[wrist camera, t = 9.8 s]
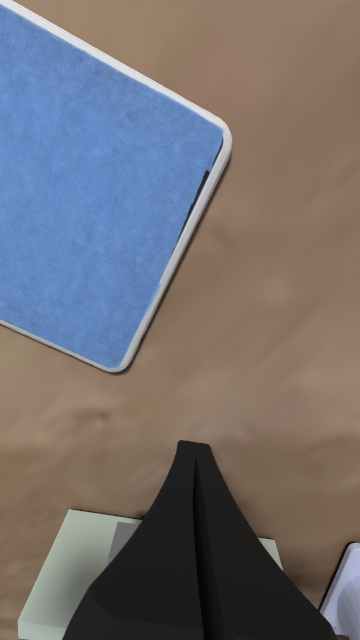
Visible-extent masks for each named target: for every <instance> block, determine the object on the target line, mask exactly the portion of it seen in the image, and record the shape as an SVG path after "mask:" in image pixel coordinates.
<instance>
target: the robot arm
mask: <svg viewBox="0 0 360 640" xmlns="http://www.w3.org/2000/svg"><path fill="white" fill-rule="evenodd" d="M336 634H338V635H345V636H348V637H349V640H360V543H352V544H350V545H349V546H348V548H347V550H346V552H345V555H344V557H343V559H342V562H341V564H340V566H339V569H338V571H337V573H336V575H335V578H334V580H333V582H332V585H331V587H330V589H329V591H328V594H327V596H326V598H325V601H324V603H323V605H322V608H321V610H320V612H319V611H318V610H317V609H316V608H315V607H314V606H313V605H312V603H311V602H310V601H309V600H308V599H307V598H306V597H305V596H304V595H303V594H302V593H301V592H300V591H299V590H298V588H297V587H296V586H295V585H294V584H293V583H292V581H291V580H290V579H289V578H288V577H287V576H286V574H285V573H284V572H283V571H282V569H281V568H280V567H279V565H278V564H277V563H276V562H275V560H274V559H273V558H272V556H271V555H270V554H269V553H268V551H267V550H266V549H265V547H264V546H263V544H262V543H261V542H260V540H259V539H258V537H257V536H256V534H255V533H254V532H253V530H252V528H251V527H250V525H249V524H248V522H247V521H246V519H245V518H244V516H243V514H242V513H241V511H240V509H239V507H238V506H237V504H236V502H235V500H234V499H233V497H232V495H231V493H230V491H229V489H228V487H227V485H226V483H225V481H224V479H223V477H222V475H221V473H220V470H219V468H218V466H217V463H216V461H215V459H214V456H213V453H212V451H211V448H210V446H209V445H208V444H204V443H197V442H190V441H184V440H180V441H179V442H178V445H177V451H176V455H175V458H174V461H173V464H172V466H171V469H170V471H169V473H168V476H167V478H166V480H165V482H164V484H163V486H162V488H161V490H160V492H159V494H158V495H157V497H156V499H155V501H154V503H153V504H152V506H151V508H150V509H149V511H148V512H147V514H146V516H145V517H144V519H143V520H142V521H141V523H140V524H139V526H138V527H137V529H136V530H135V532H134V533H133V534H132V536H131V537H130V539H129V540H128V541H127V542H126V544H125V545H124V546H123V547H122V549H121V550H120V551H119V553H118V554H117V555H116V556H115V558H114V559H113V560H112V561H111V562H110V564H109V565H108V566H107V567H106V568H105V569H104V570H103V571H102V572H101V574H100V575H99V576H98V577H97V578H96V579H95V580H94V581H93V582H92V584H91V585H90V586H89V588H88V589H87V591H86V593H85V595H84V596H83V598H82V600H81V601H80V603H79V605H78V607H77V609H76V611H75V612H74V614H73V616H72V618H71V620H70V622H69V624H68V627H67V629H66V631H65V633H64V636H63V638H62V640H338V639H337V636H336Z"/></svg>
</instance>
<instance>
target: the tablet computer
mask: <svg viewBox="0 0 360 640" xmlns="http://www.w3.org/2000/svg"><path fill="white" fill-rule="evenodd" d="M232 144H233V142H232V136H231V133H230V130H229V128H228V126H227V125H226V124H225V122H224V121H222V120H221V119H220V118H218V117H217V116H215V115H213V114H211V113H210V112H208V111H206V110H204V109H202V108H201V107H199V106H197V105H195V104H193V103H192V102H190V101H188V100H186V99H184V98H183V97H181V96H180V95H178V94H176V93H174V92H172V91H170V90H169V89H167V88H165V87H163V86H162V85H160V84H158V83H157V82H155V81H153V80H151V79H150V78H148V77H146V76H144V75H142V74H141V73H139V72H137V71H135V70H133V69H131V68H130V67H128V66H126V65H124V64H123V63H121V62H119V61H117V60H116V59H114V58H112V57H110V56H109V55H107V54H105V53H103V52H102V51H100V50H98V49H96V48H94V47H93V46H91V45H89V44H88V43H86V42H84V41H82V40H81V39H79V38H77V37H75V36H73V35H72V34H70V33H68V32H66V31H65V30H63V29H61V28H59V27H58V26H56V25H54V24H53V23H51V22H49V21H47V20H46V19H44V18H42V17H40V16H39V15H37V14H35V13H33V12H32V11H30V10H28V9H26V8H25V7H23V6H21V5H19V4H17V3H16V2H14V1H12V0H0V324H3V325H5V326H7V327H9V328H11V329H13V330H15V331H17V332H19V333H21V334H24V335H27V336H29V337H31V338H33V339H35V340H37V341H39V342H42V343H44V344H47V345H49V346H51V347H54V348H56V349H58V350H60V351H63V352H65V353H67V354H69V355H72V356H74V357H76V358H78V359H80V360H82V361H85V362H87V363H89V364H91V365H94V366H96V367H98V368H100V369H102V370H105V371H107V372H119V371H122V370H123V369H125V368H126V367H127V366H128V365H129V364H130V362H131V361H132V359H133V357H134V355H135V353H136V350H137V348H138V346H139V344H140V340H141V338H142V336H143V335H144V334H145V332H146V330H147V328H148V325H149V323H150V321H151V319H152V317H153V315H154V313H155V311H156V309H157V306H158V304H159V302H160V300H161V298H162V296H163V294H164V292H165V290H166V288H167V286H168V284H169V281H170V279H171V277H172V275H173V273H174V271H175V269H176V267H177V265H178V263H179V261H180V259H181V257H182V254H183V252H184V250H185V248H186V246H187V244H188V242H189V240H190V238H191V236H192V234H193V232H194V230H195V228H196V225H197V223H198V221H199V219H200V217H201V215H202V213H203V211H204V209H205V207H206V205H207V203H208V201H209V199H210V197H211V195H212V193H213V191H214V189H215V187H216V185H217V183H218V181H219V179H220V176H221V174H222V172H223V170H224V168H225V166H226V164H227V163H228V160H229V158H230V155H231V152H232Z"/></svg>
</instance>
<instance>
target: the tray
mask: <svg viewBox="0 0 360 640" xmlns="http://www.w3.org/2000/svg"><path fill="white" fill-rule="evenodd" d="M141 521H142V520H137V519H131V518H124V517H117V516H111V515H104V514H97V513H90V512H84V511H77V510H70V509H69V511H68V513H67V515H66V518H65V520H64V522H63V524H62V526H61V528H60V531H59V533H58V535H57V537H56V539H55V541H54V544H53V546H52V548H51V550H50V552H49V554H48V557H47V559H46V561H45V563H44V565H43V567H42V570H41V572H40V574H39V576H38V578H37V581H36V583H35V585H34V587H33V589H32V591H31V594H30V596H29V598H28V600H27V602H26V604H25V607H24V609H23V611H22V613H21V615H20V617H19V620H18V638H22V639H28V640H62V638H63V636H64V633H65V631H66V629H67V627H68V624H69V622H70V620H71V618H72V616H73V614H74V612H75V611H76V609H77V607H78V605H79V603H80V601H81V600H82V598H83V596H84V595H85V593H86V591H87V589H88V588H89V586H90V585H91V584H92V582H93V581H94V580H95V579H96V578H97V577H98V576H99V575H100V574H101V572H102V571H103V570H104V569H105V568H106V567H107V566H108V565H109V564H110V562H111V561H112V560H113V559H114V558H115V556H116V555H117V554H118V553H119V551H120V550H121V549H122V547H123V546H124V545H125V544H126V542H127V541H128V540H129V539H130V537H131V536H132V534H133V533H134V532H135V530H136V529H137V527H138V526H139V524H140V523H141ZM258 539H259V540H260V542H261V543H262V544H263V546H264V547H265V549H266V550H267V551H268V553H269V554H270V555H271V556H272V558H273V559H274V560H275V562H276V563H277V564H278V565H279V567H280V568H281V569H282V565H281V562H280V558H279V555H278V551H277V548H276V544H275V540H271V539H264V538H258ZM282 571H283V569H282Z"/></svg>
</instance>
